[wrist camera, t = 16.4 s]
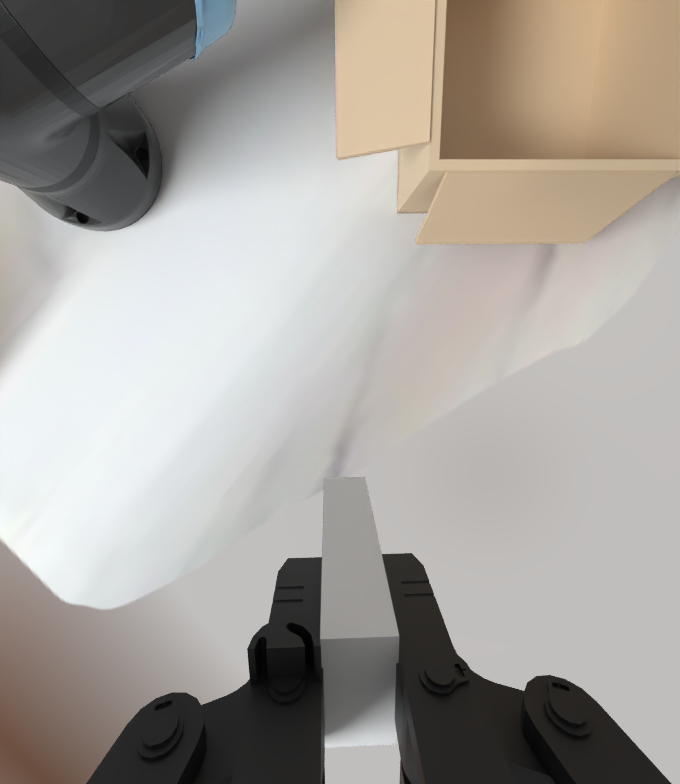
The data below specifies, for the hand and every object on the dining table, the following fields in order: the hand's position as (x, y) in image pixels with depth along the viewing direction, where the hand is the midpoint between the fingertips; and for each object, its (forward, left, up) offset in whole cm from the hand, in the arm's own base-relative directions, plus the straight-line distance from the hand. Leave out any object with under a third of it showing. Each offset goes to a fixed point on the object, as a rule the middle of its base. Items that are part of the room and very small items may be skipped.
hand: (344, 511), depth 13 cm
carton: (-8, +32, -34) cm, 48 cm away
